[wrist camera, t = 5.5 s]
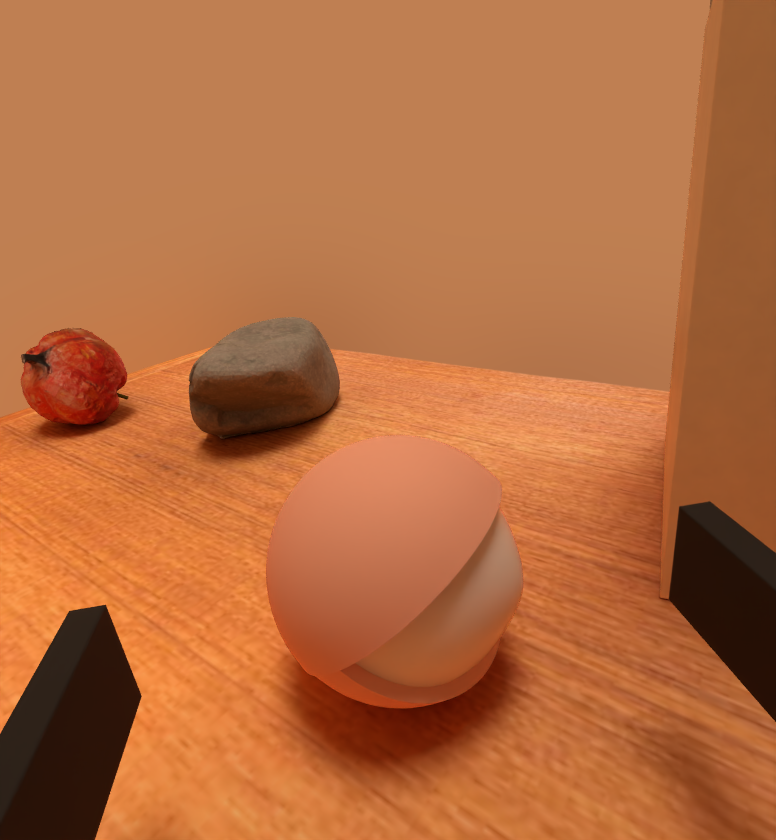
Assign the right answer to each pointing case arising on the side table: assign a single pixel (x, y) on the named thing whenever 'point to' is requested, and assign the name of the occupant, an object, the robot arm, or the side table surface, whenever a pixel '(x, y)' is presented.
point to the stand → (728, 288)
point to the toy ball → (394, 571)
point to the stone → (263, 379)
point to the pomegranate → (73, 377)
